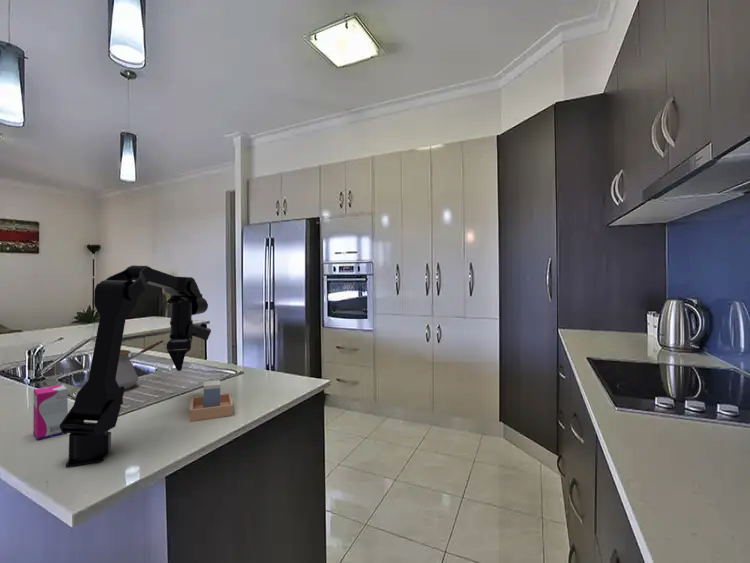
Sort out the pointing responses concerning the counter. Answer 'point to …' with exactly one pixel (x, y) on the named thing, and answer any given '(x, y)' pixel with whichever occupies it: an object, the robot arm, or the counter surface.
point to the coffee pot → (129, 368)
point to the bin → (211, 408)
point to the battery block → (211, 394)
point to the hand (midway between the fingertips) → (180, 366)
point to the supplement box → (49, 410)
